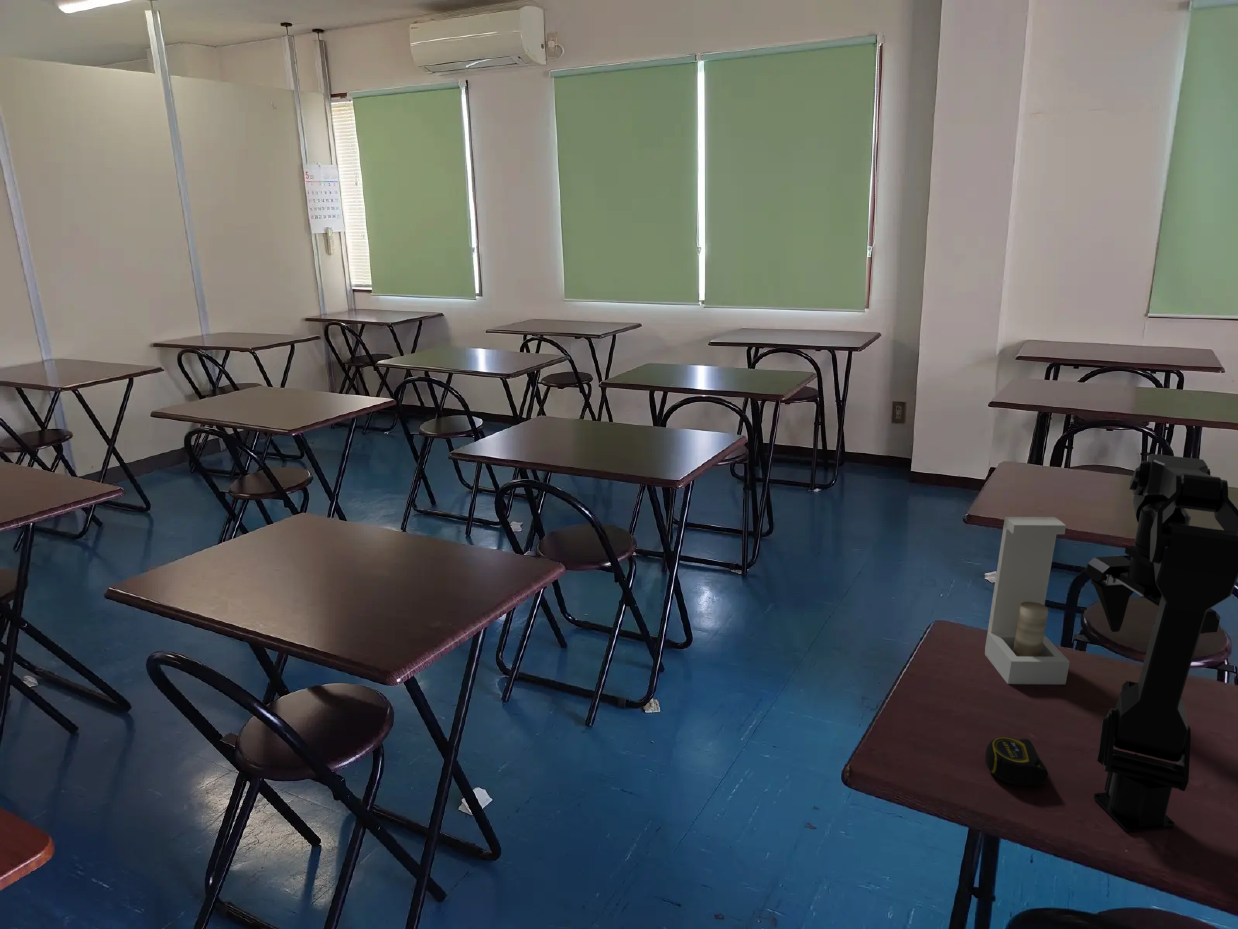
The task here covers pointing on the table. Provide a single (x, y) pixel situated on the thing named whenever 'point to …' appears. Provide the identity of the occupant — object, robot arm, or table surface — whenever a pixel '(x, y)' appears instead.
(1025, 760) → the tape measure
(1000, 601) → the white holder stand
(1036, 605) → the peg
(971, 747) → the table surface
